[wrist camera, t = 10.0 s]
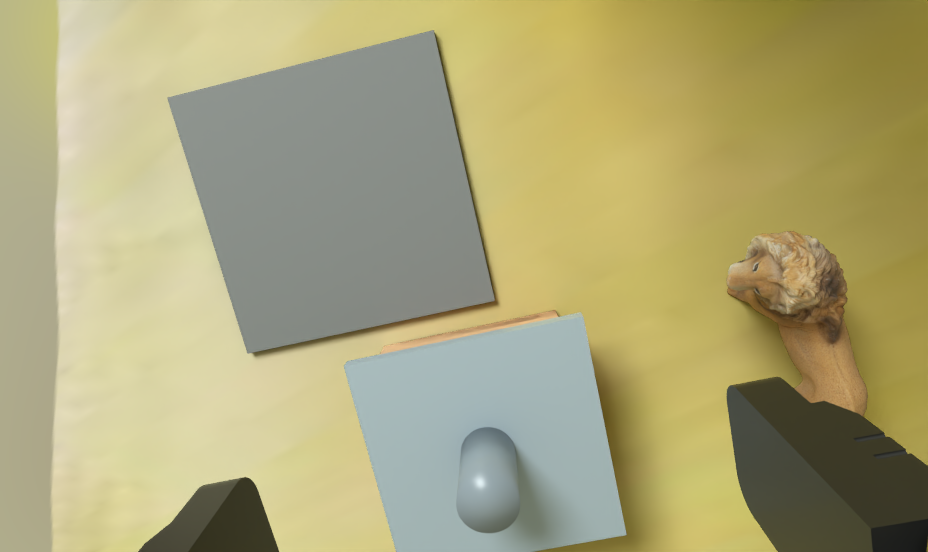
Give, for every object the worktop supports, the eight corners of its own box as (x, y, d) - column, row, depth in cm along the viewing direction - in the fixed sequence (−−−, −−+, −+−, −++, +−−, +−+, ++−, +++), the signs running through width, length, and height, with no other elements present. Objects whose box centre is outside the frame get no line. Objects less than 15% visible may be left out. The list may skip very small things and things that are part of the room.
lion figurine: (675, 244, 36) (735, 274, 27) (755, 196, 35) (844, 212, 27) (787, 437, 38) (876, 522, 30) (865, 395, 38) (981, 470, 29)
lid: (347, 361, 33) (317, 404, 27) (580, 312, 32) (600, 346, 26) (404, 565, 36) (388, 644, 30) (623, 526, 34) (650, 600, 29)
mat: (171, 98, 35) (167, 97, 35) (434, 31, 34) (433, 30, 34) (250, 351, 38) (247, 353, 38) (494, 298, 37) (494, 300, 37)
